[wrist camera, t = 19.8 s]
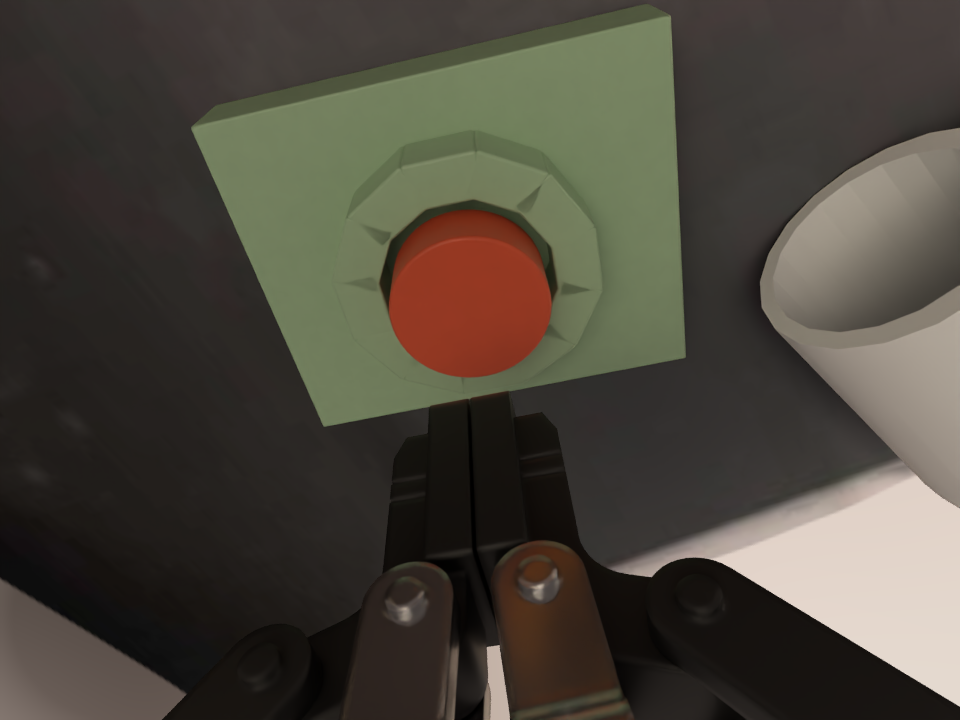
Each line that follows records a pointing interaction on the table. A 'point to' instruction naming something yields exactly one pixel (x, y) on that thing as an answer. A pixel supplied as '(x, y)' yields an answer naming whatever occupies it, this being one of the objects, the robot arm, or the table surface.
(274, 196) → the control block
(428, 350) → the button
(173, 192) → the table surface
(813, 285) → the mug
